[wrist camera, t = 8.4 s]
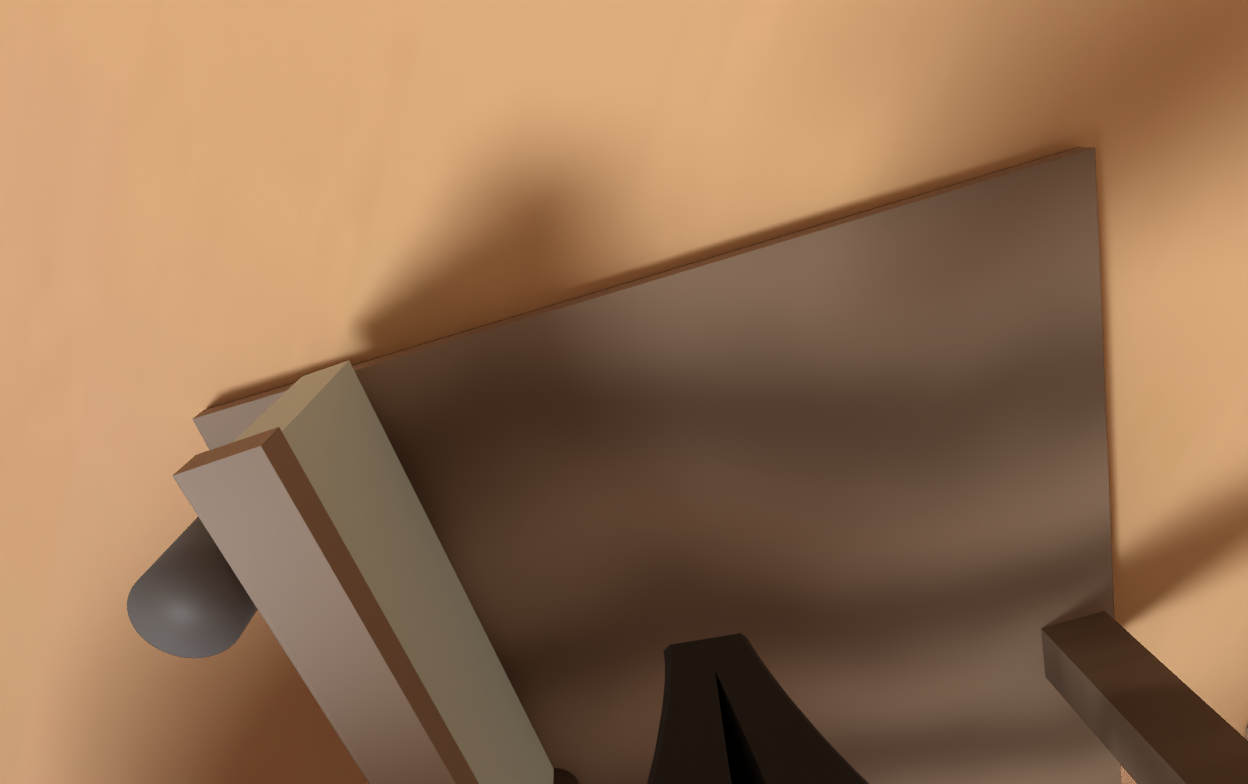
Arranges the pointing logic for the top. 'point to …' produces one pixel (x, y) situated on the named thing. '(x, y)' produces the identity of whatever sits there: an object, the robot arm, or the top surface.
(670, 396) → the brown piece
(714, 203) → the top surface
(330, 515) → the panel
